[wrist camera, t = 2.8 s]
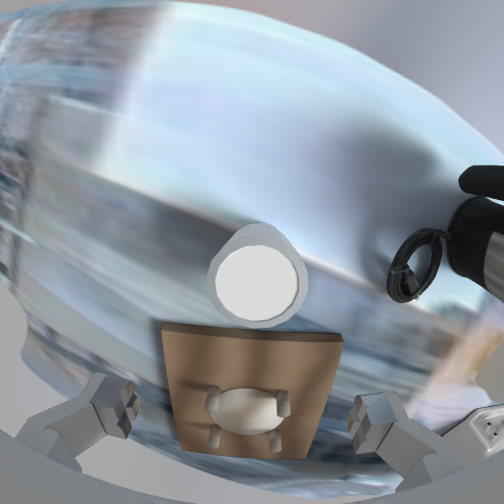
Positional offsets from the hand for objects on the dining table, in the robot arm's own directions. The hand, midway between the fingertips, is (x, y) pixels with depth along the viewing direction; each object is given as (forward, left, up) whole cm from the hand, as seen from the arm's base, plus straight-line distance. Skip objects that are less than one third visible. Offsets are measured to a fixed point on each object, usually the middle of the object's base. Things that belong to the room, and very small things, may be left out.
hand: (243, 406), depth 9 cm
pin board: (0, +19, -17) cm, 26 cm away
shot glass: (0, 0, -18) cm, 18 cm away
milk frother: (-20, -2, -18) cm, 27 cm away
